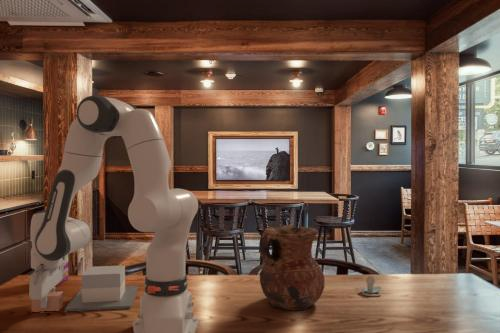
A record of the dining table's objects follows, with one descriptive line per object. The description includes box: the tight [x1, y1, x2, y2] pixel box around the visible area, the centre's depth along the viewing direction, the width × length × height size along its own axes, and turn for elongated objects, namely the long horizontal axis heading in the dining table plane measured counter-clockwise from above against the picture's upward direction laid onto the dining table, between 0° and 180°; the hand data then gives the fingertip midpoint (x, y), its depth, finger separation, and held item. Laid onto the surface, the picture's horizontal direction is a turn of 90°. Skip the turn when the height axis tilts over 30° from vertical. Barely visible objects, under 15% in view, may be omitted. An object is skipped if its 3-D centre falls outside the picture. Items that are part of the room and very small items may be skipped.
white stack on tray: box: [64, 264, 140, 312], centre depth 138 cm, size 20×20×10 cm
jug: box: [258, 224, 326, 312], centre depth 134 cm, size 22×21×25 cm
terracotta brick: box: [31, 291, 64, 312], centre depth 129 cm, size 4×8×5 cm, turn 98°
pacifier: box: [359, 275, 382, 297], centre depth 143 cm, size 7×6×6 cm
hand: (47, 303), depth 129 cm, fingers closed on terracotta brick, 4 cm apart
